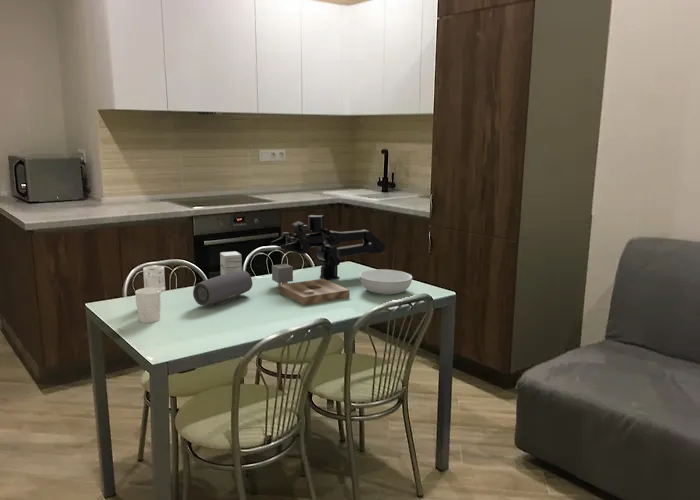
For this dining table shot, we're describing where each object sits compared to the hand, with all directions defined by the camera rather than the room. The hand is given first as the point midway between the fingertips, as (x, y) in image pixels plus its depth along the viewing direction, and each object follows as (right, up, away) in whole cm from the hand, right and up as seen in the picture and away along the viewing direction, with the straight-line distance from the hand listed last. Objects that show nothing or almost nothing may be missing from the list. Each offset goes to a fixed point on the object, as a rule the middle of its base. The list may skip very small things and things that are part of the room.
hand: (276, 245), depth 238 cm
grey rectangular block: (+2, -17, +2) cm, 17 cm away
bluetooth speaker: (-17, -21, -20) cm, 33 cm away
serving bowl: (+44, -19, -3) cm, 48 cm away
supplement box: (-19, -16, +6) cm, 25 cm away
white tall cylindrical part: (-40, -22, -26) cm, 53 cm away
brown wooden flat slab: (+16, -19, -10) cm, 27 cm away
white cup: (-37, -25, -42) cm, 61 cm away
